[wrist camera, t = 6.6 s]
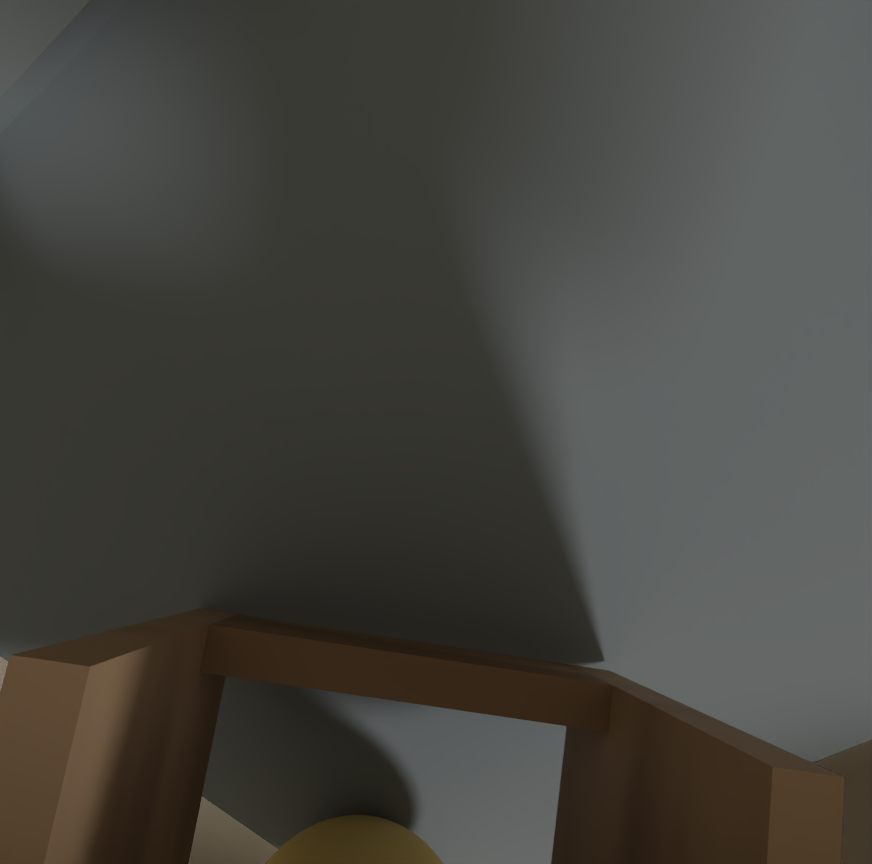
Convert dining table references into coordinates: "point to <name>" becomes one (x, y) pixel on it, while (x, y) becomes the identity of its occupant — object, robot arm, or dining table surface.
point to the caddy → (392, 680)
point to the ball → (355, 844)
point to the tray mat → (445, 367)
